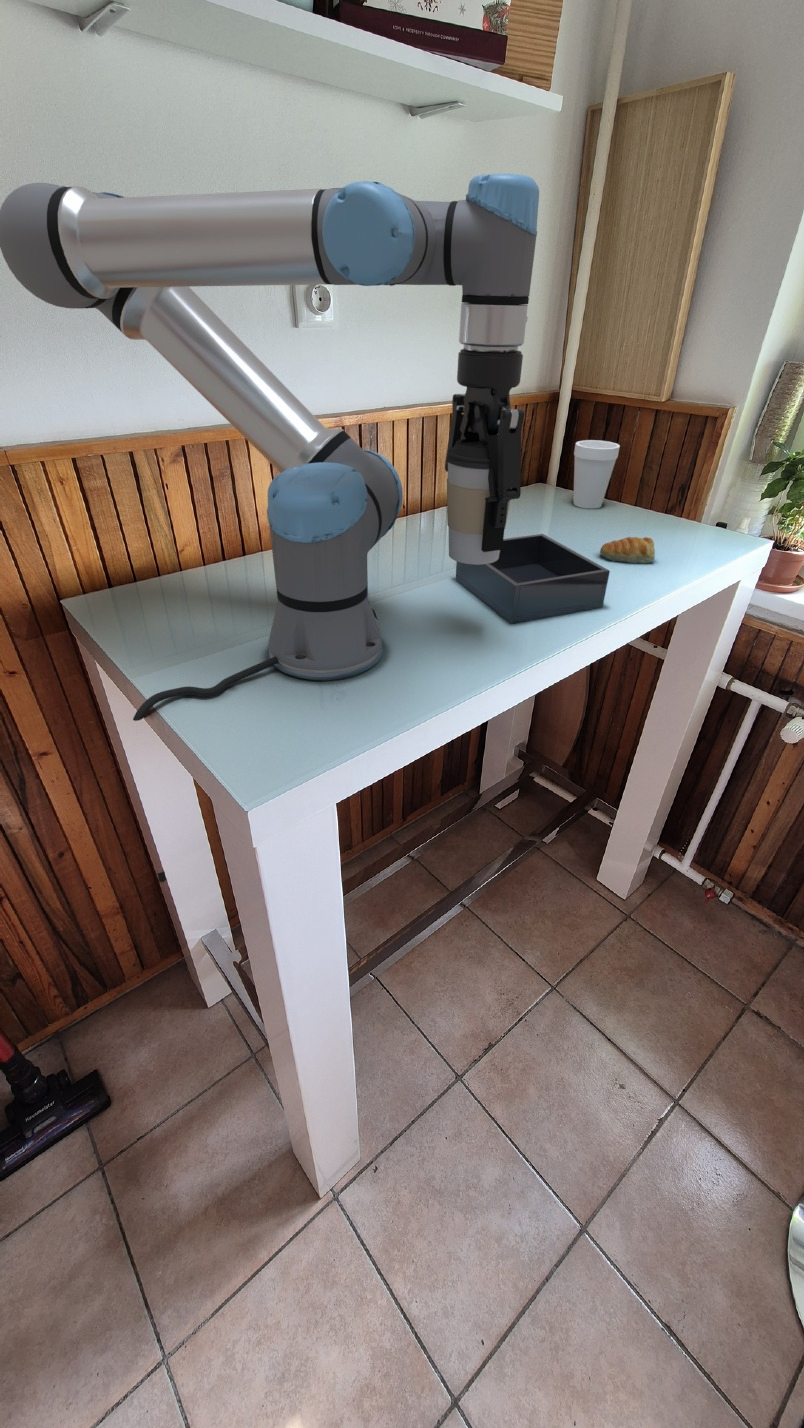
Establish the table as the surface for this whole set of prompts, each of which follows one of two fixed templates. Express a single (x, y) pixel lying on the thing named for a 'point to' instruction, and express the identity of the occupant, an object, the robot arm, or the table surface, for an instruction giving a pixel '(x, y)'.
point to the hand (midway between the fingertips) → (475, 538)
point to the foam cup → (593, 471)
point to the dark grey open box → (536, 580)
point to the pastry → (630, 550)
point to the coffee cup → (468, 502)
